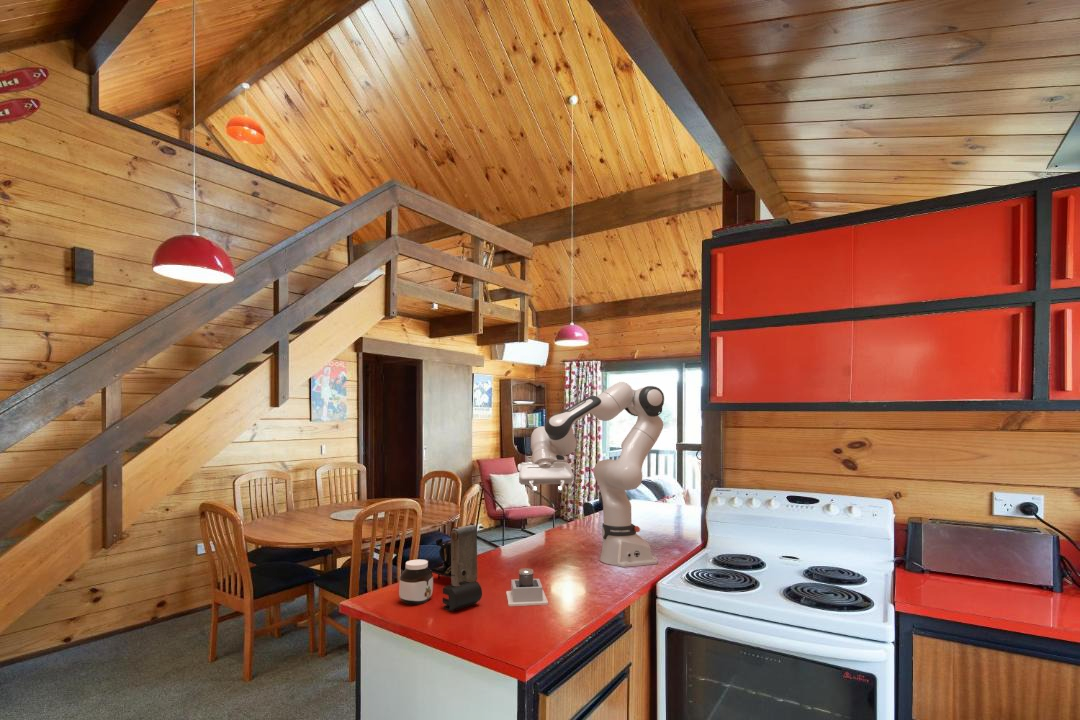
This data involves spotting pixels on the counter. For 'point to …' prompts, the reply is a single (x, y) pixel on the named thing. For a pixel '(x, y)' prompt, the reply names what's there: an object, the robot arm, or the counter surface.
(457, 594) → the end cap
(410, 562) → the spread jar
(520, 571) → the brown cylinder
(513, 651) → the counter surface
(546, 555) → the counter surface
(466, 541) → the vintage camera
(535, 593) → the open square tray
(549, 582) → the counter surface
